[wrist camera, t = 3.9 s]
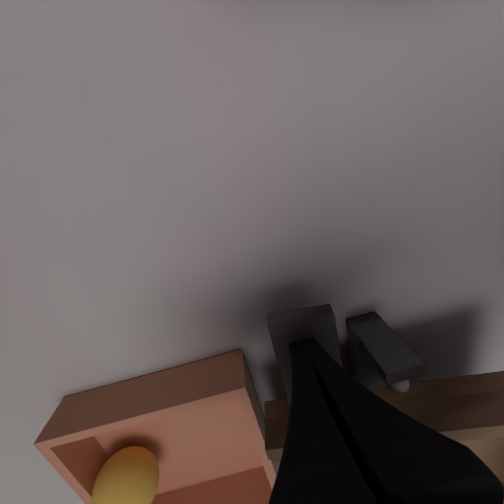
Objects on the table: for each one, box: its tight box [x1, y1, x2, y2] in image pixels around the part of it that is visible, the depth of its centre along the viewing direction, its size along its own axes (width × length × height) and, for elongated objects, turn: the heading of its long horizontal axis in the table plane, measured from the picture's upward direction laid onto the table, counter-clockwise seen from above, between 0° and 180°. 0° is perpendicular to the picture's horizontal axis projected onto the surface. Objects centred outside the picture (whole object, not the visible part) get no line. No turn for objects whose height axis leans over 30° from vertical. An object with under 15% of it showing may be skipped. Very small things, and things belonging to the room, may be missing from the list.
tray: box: [34, 350, 279, 504], centre depth 18 cm, size 12×12×3 cm
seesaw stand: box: [346, 311, 424, 388], centre depth 18 cm, size 2×13×5 cm, turn 14°
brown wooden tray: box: [265, 304, 504, 504], centre depth 14 cm, size 16×16×3 cm
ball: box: [92, 446, 160, 504], centre depth 17 cm, size 4×4×4 cm
